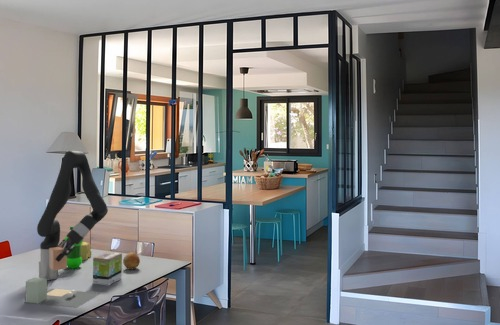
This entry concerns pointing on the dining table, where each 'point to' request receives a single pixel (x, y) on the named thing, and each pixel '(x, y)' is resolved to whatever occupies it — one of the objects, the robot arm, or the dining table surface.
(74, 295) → the marble
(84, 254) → the cheese
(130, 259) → the onion
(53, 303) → the mat
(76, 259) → the plastic bottle
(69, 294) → the marble
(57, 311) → the dining table surface
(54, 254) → the orange block
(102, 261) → the tea box
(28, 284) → the grey-green block
